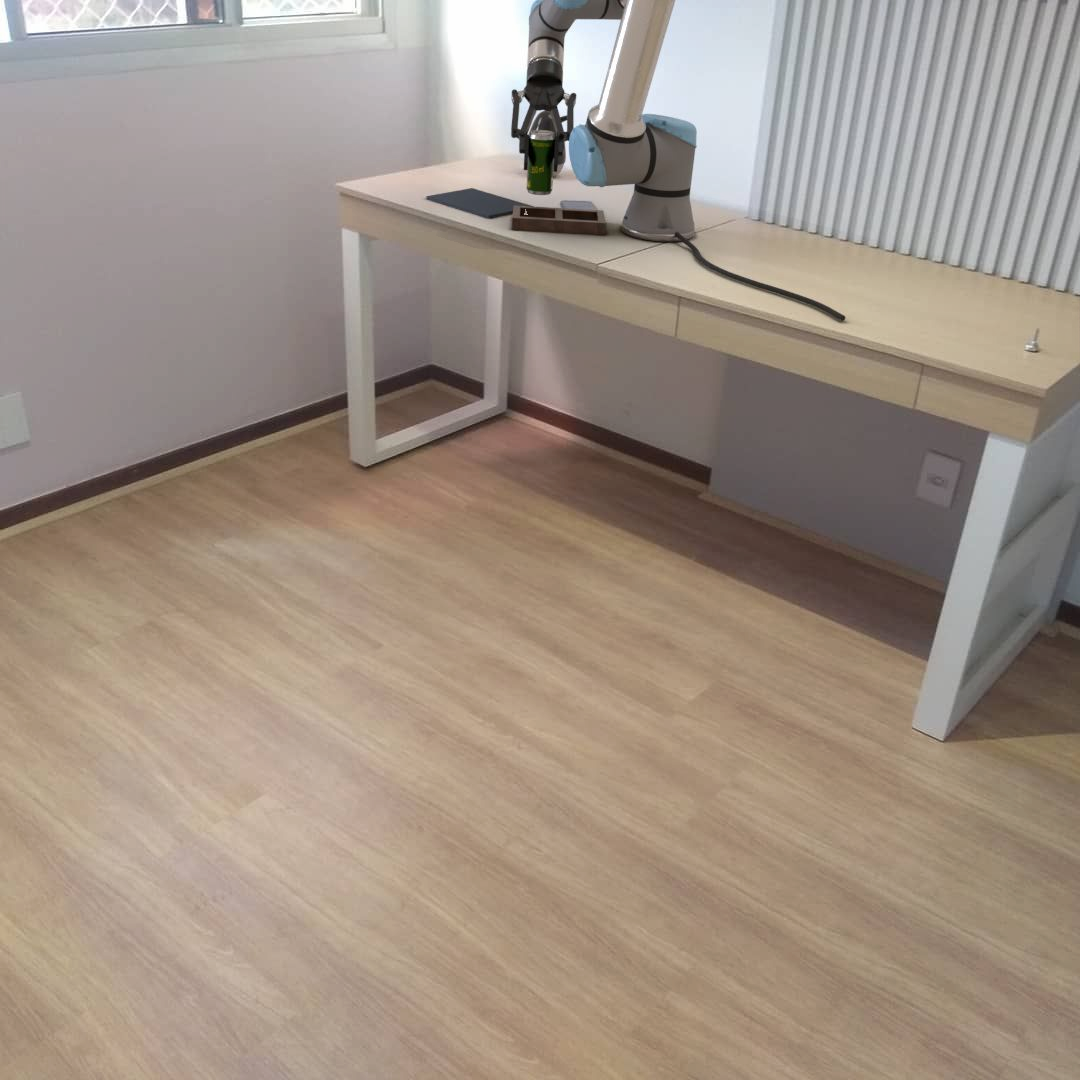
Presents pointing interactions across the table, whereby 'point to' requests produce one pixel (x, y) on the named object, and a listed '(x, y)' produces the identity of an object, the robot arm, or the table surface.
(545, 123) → the pump dispenser
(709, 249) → the table surface
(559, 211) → the can stand
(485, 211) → the slate mat
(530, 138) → the beer can
